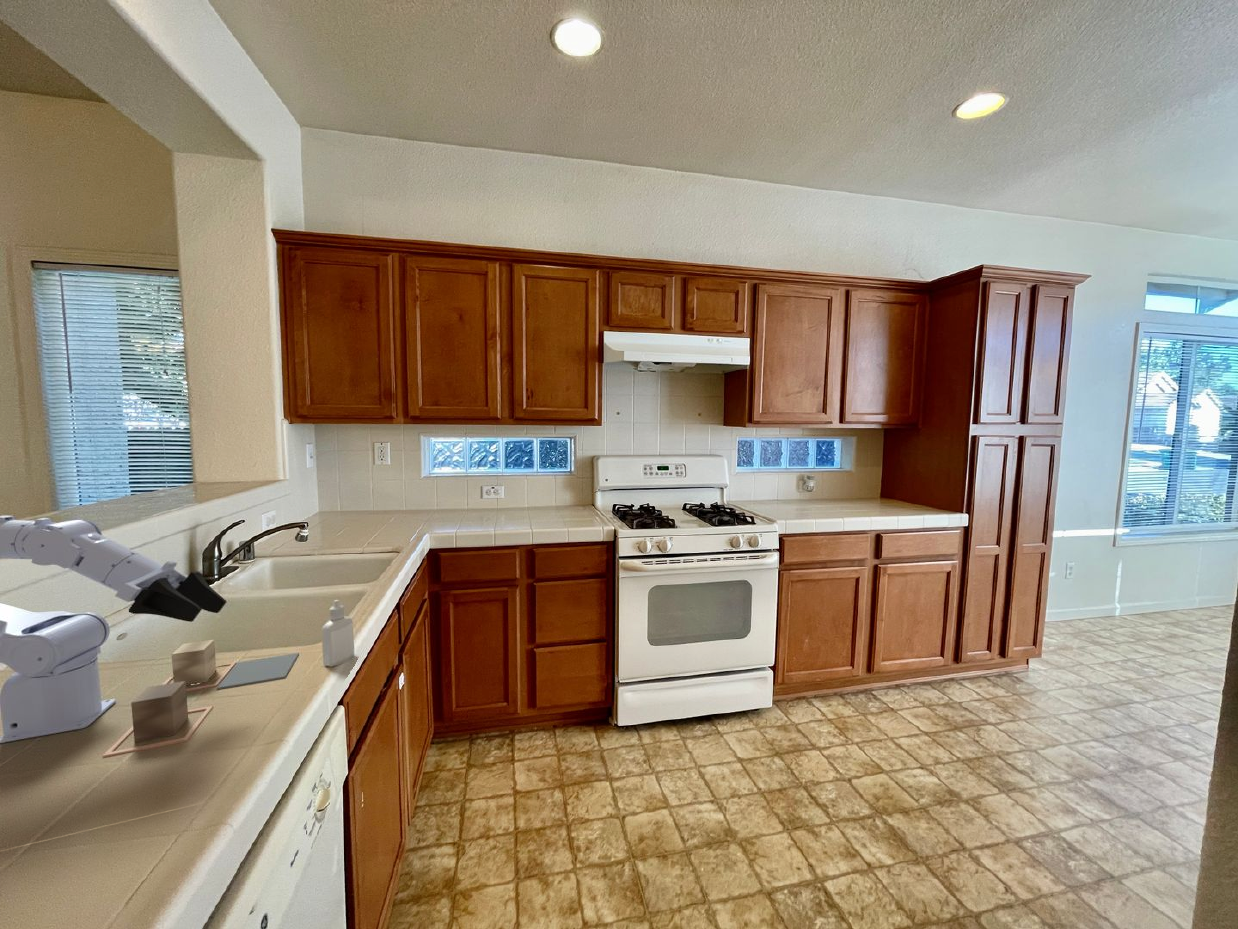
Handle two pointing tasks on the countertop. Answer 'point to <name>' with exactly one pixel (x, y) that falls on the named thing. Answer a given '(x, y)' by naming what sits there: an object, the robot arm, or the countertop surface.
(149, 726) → the walnut block
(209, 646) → the oak block
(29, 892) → the countertop surface
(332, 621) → the eye dropper bottle
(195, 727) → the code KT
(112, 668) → the countertop surface
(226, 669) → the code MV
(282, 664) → the coaster
